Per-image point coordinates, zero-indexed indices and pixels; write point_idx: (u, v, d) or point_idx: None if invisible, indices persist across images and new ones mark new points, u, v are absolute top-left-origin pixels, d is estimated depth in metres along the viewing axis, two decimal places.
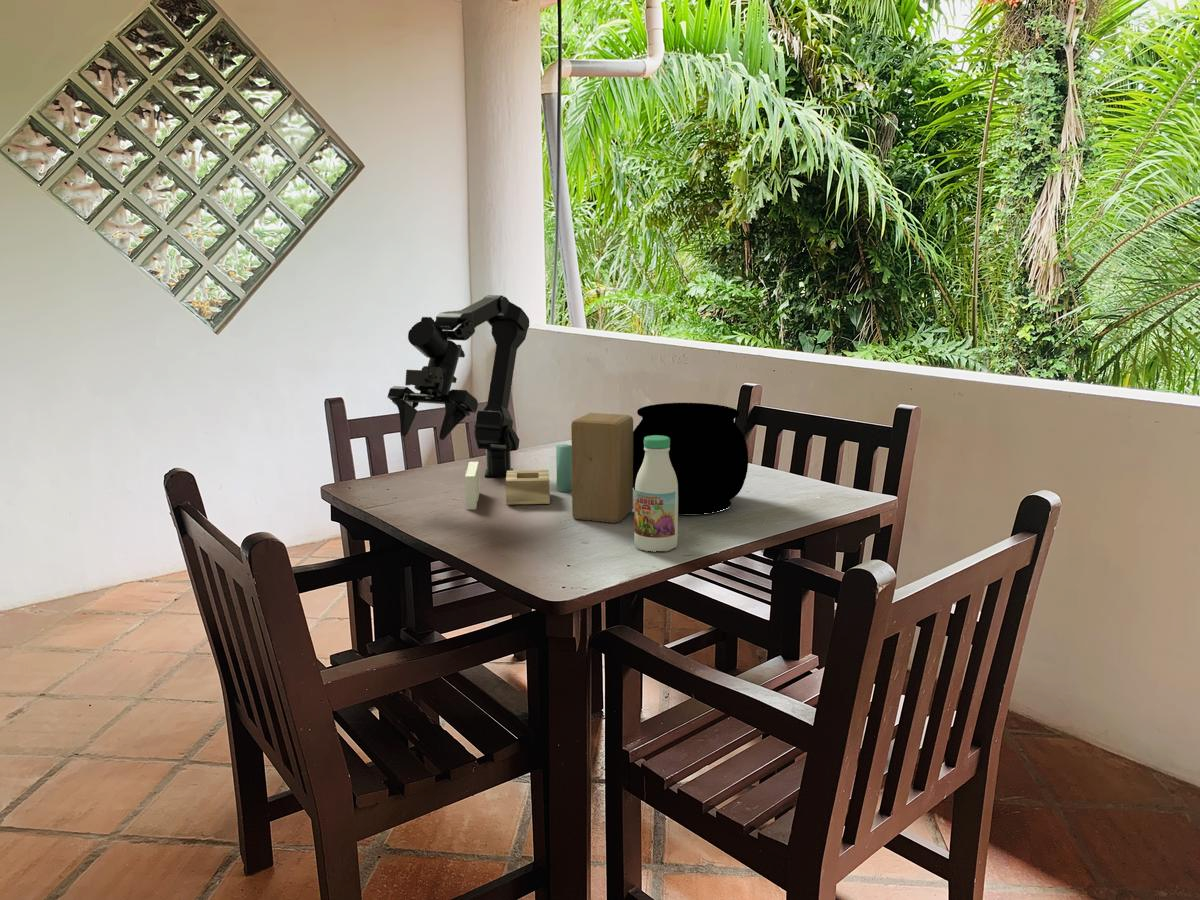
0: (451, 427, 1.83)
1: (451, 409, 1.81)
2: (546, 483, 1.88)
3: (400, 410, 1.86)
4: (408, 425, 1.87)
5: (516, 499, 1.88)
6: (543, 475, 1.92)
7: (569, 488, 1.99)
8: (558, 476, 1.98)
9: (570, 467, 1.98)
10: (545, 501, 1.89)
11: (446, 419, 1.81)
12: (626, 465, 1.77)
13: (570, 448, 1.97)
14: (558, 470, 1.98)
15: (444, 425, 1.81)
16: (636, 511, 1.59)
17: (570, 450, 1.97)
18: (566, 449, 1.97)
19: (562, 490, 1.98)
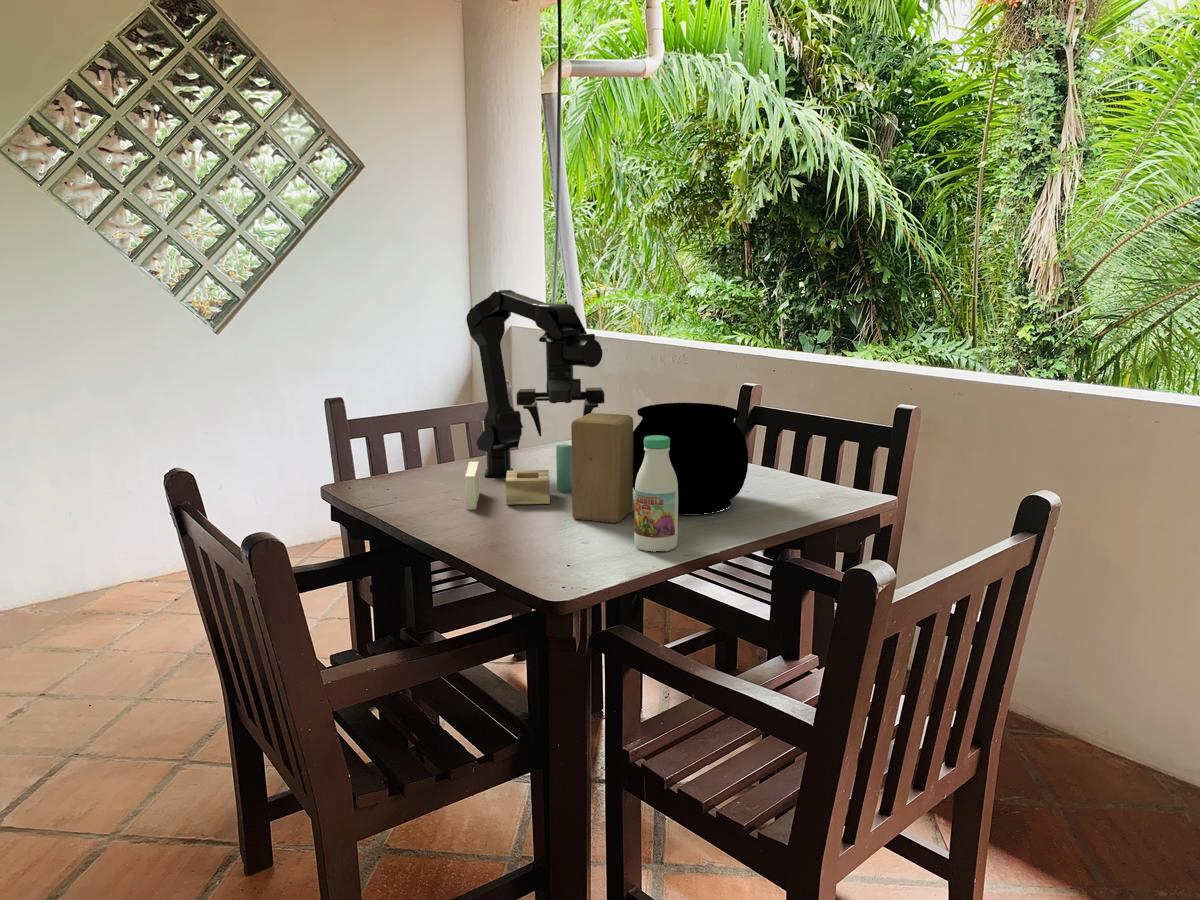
0: None
1: (591, 410, 1.94)
2: (546, 483, 1.88)
3: (533, 414, 1.94)
4: None
5: (516, 499, 1.88)
6: (543, 475, 1.92)
7: (569, 488, 1.99)
8: (558, 476, 1.98)
9: (570, 467, 1.98)
10: (545, 501, 1.89)
11: None
12: (626, 465, 1.77)
13: (570, 448, 1.97)
14: (558, 470, 1.98)
15: None
16: (636, 511, 1.59)
17: (570, 450, 1.97)
18: (566, 449, 1.97)
19: (562, 490, 1.98)
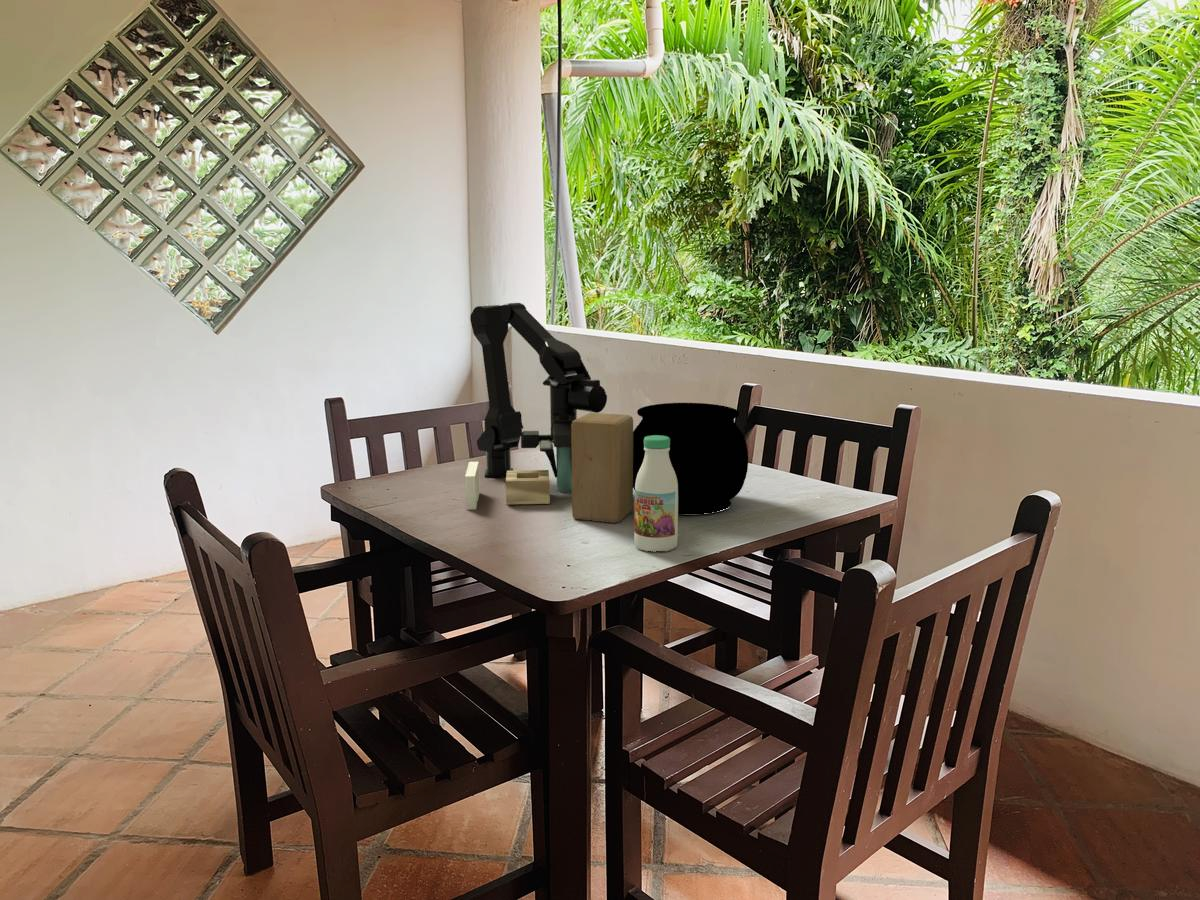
0: None
1: None
2: (546, 483, 1.88)
3: (549, 456, 1.97)
4: None
5: (516, 499, 1.88)
6: (543, 475, 1.92)
7: (569, 488, 1.99)
8: (558, 476, 1.98)
9: (570, 467, 1.98)
10: (545, 501, 1.89)
11: None
12: (626, 465, 1.77)
13: (570, 448, 1.97)
14: (558, 470, 1.98)
15: None
16: (636, 511, 1.59)
17: (570, 450, 1.97)
18: (566, 449, 1.97)
19: (562, 490, 1.98)
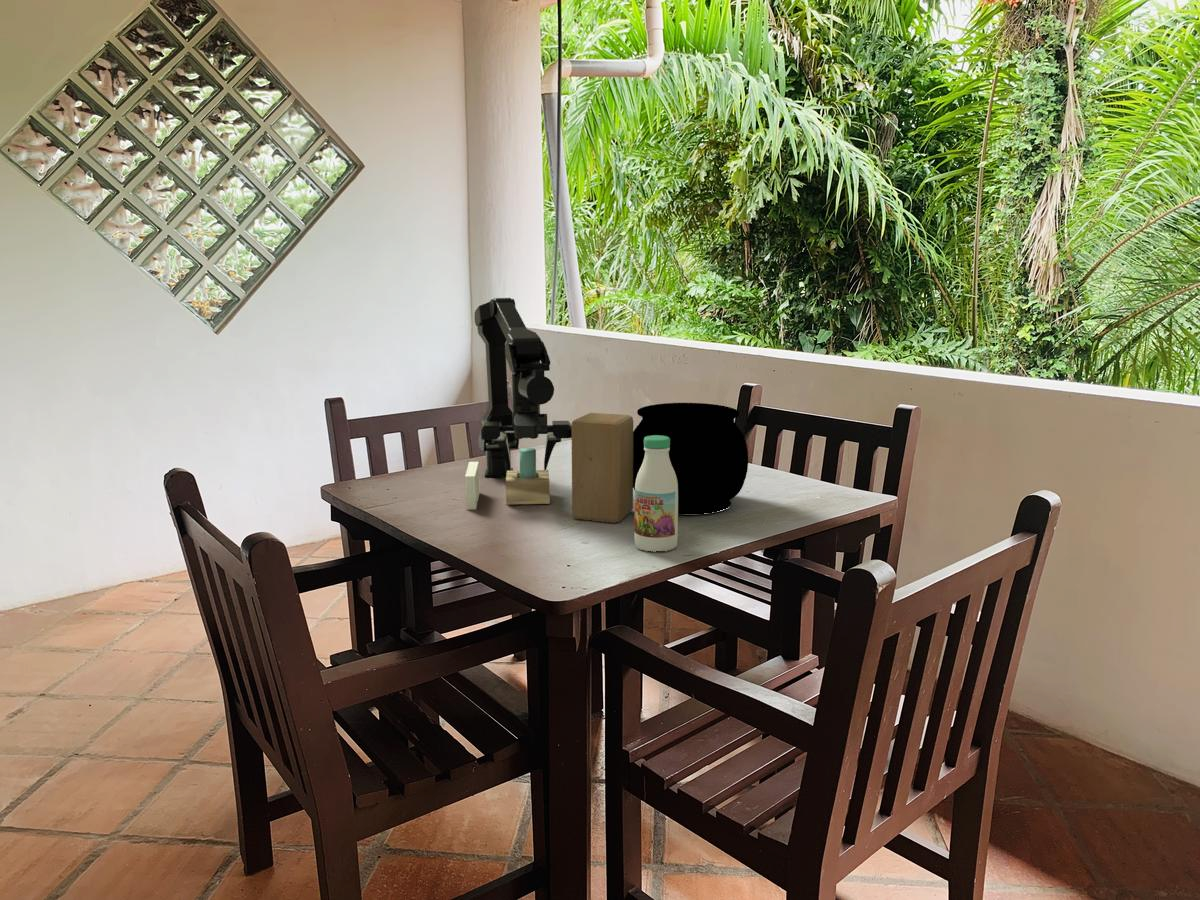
0: None
1: (553, 444, 1.89)
2: (546, 483, 1.88)
3: (502, 448, 1.89)
4: (509, 457, 1.91)
5: (516, 499, 1.88)
6: (543, 475, 1.92)
7: None
8: None
9: (534, 472, 1.90)
10: (545, 501, 1.89)
11: (548, 453, 1.90)
12: (626, 465, 1.77)
13: (534, 452, 1.89)
14: (521, 475, 1.90)
15: (547, 458, 1.90)
16: (636, 511, 1.59)
17: (534, 455, 1.89)
18: (530, 454, 1.88)
19: None
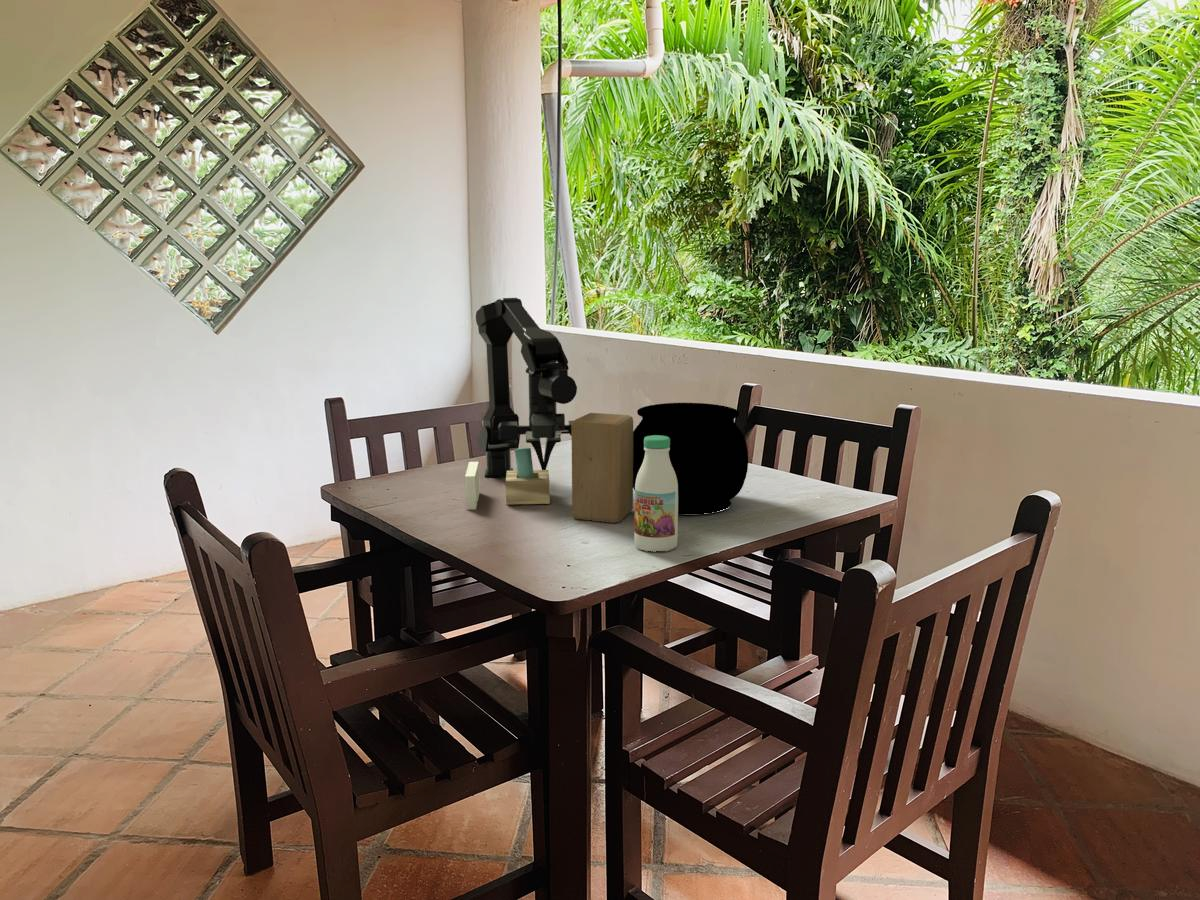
0: None
1: (553, 444, 1.89)
2: (546, 483, 1.88)
3: (536, 448, 1.89)
4: None
5: (516, 499, 1.88)
6: (543, 475, 1.92)
7: None
8: None
9: (531, 470, 1.90)
10: (545, 501, 1.89)
11: (548, 453, 1.90)
12: (626, 465, 1.77)
13: (529, 451, 1.89)
14: (519, 475, 1.90)
15: (547, 458, 1.90)
16: (636, 511, 1.59)
17: (529, 453, 1.89)
18: (525, 452, 1.89)
19: None
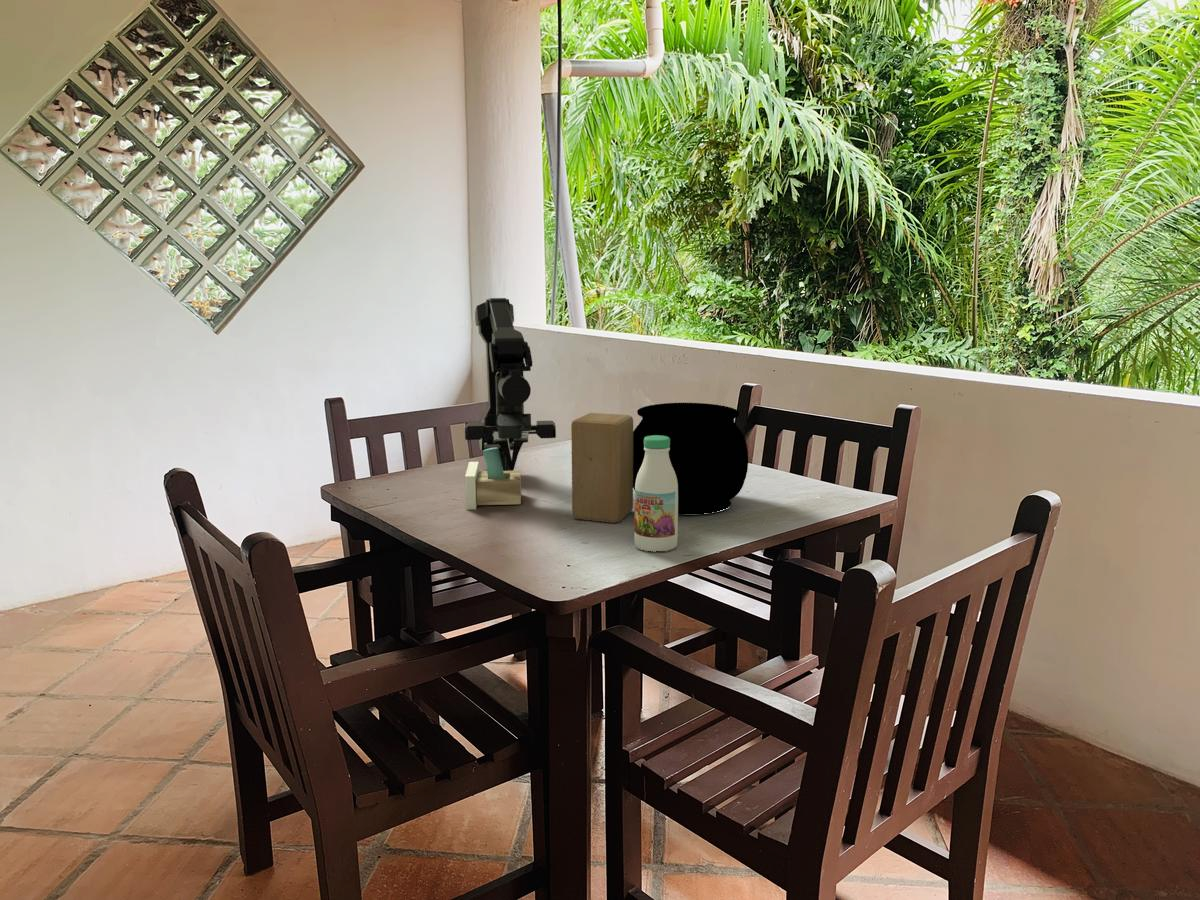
0: None
1: (520, 445, 1.88)
2: (517, 483, 1.87)
3: (503, 448, 1.88)
4: None
5: (487, 500, 1.88)
6: (514, 476, 1.91)
7: None
8: None
9: (501, 470, 1.90)
10: (516, 502, 1.88)
11: (516, 453, 1.89)
12: (626, 465, 1.77)
13: (497, 451, 1.89)
14: (489, 475, 1.90)
15: (515, 458, 1.90)
16: (636, 511, 1.59)
17: (497, 453, 1.89)
18: (492, 452, 1.88)
19: None
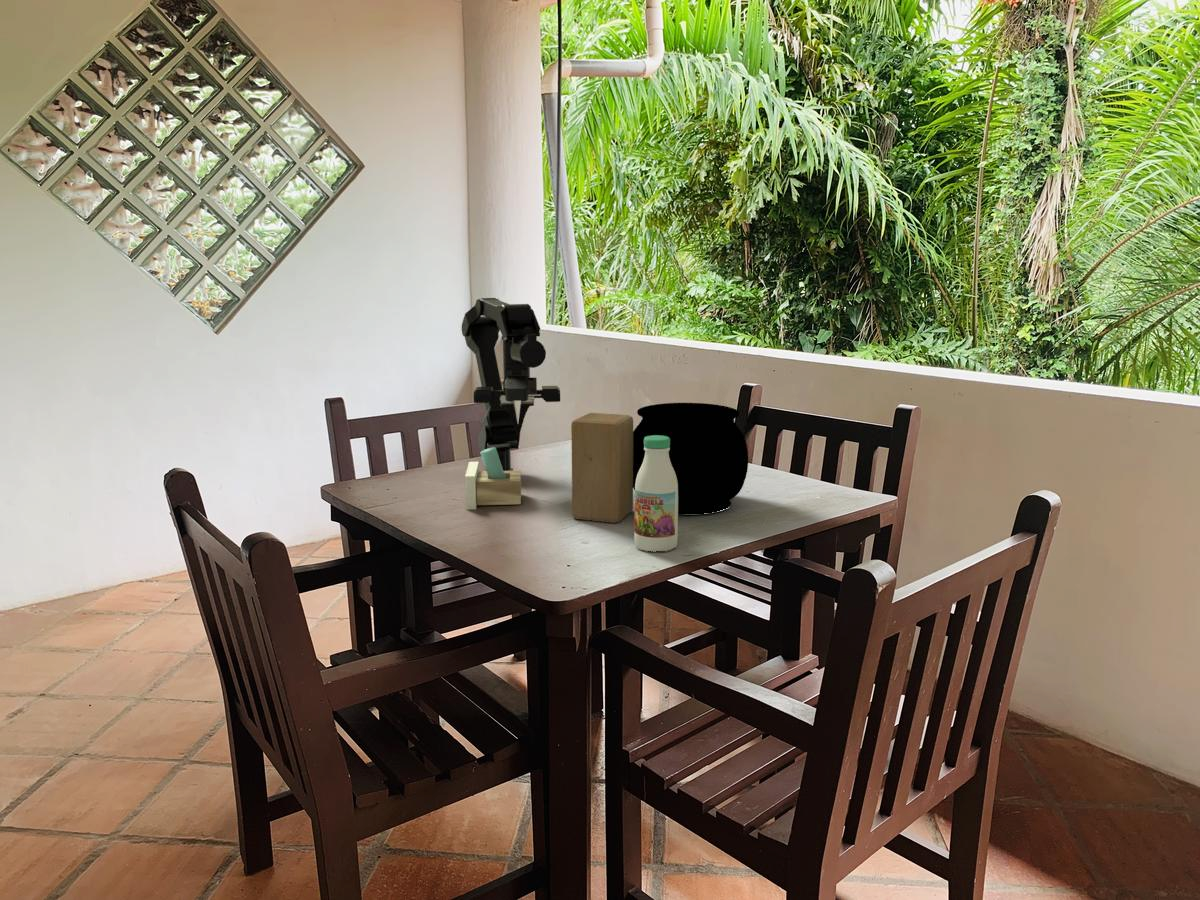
0: None
1: (527, 408, 1.97)
2: (517, 483, 1.87)
3: (510, 411, 1.97)
4: None
5: (487, 500, 1.88)
6: (514, 476, 1.91)
7: None
8: None
9: (500, 469, 1.90)
10: (516, 502, 1.88)
11: (522, 416, 1.98)
12: (626, 465, 1.77)
13: (494, 450, 1.89)
14: (489, 476, 1.90)
15: (521, 421, 1.98)
16: (636, 511, 1.59)
17: (495, 453, 1.89)
18: (490, 453, 1.88)
19: None
